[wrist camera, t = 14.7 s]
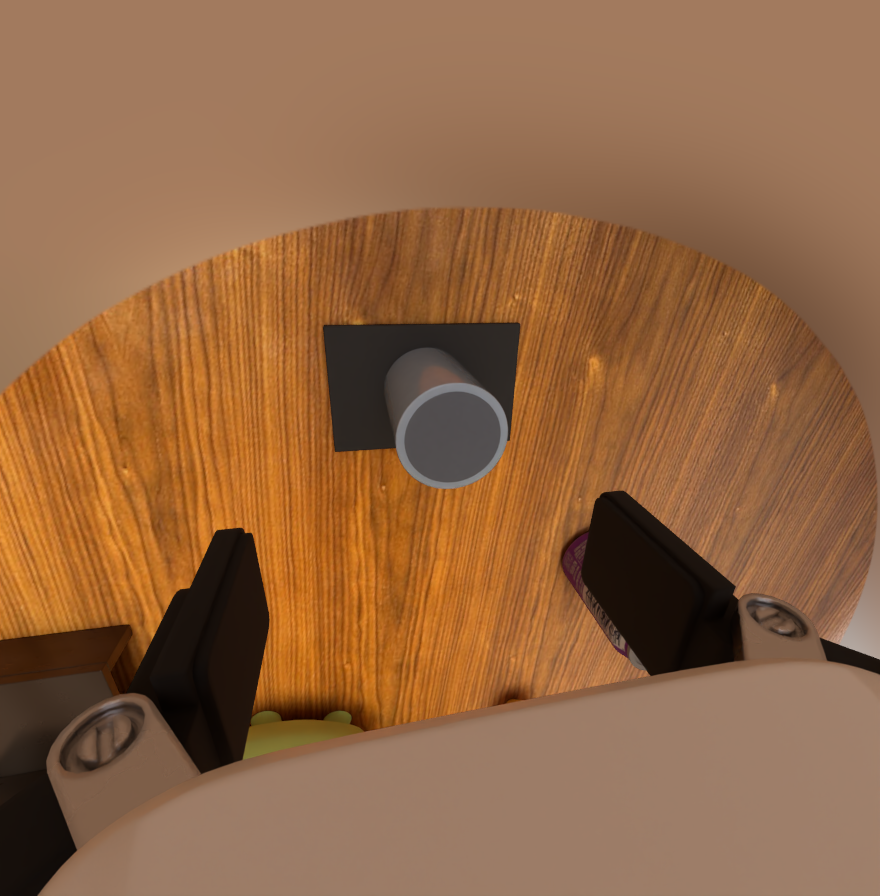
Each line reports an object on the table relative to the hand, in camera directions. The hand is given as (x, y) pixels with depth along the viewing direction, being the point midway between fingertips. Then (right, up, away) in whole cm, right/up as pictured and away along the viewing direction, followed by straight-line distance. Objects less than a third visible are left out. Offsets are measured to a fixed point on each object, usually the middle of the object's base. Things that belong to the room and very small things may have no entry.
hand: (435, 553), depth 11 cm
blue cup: (-1, +7, +22) cm, 24 cm away
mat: (-1, +8, +23) cm, 24 cm away
